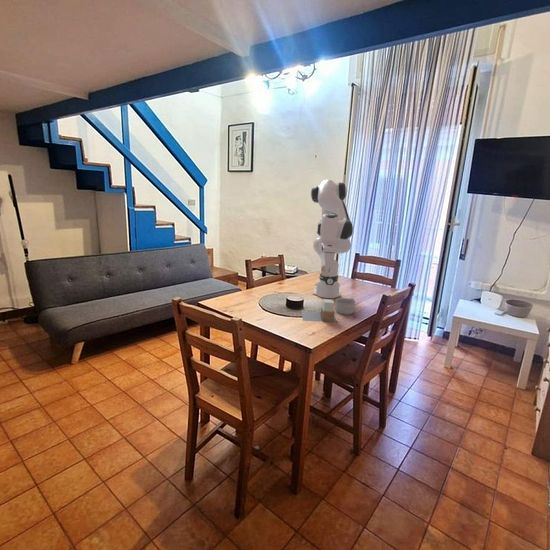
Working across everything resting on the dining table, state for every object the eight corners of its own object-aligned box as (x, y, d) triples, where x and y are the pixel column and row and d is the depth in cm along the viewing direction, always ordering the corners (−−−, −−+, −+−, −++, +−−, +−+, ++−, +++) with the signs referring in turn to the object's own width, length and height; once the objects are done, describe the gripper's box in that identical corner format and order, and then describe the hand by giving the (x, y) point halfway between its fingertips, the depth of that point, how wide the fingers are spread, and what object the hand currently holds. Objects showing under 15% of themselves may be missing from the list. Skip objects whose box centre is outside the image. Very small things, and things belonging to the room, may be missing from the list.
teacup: (344, 318, 179) (346, 304, 177) (330, 312, 187) (331, 298, 185) (361, 314, 187) (363, 301, 185) (347, 308, 195) (348, 295, 193)
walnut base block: (320, 316, 177) (321, 307, 175) (331, 317, 177) (332, 308, 176) (321, 320, 171) (322, 311, 170) (333, 321, 171) (334, 312, 170)
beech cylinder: (320, 274, 172) (321, 265, 171) (328, 274, 172) (329, 265, 171) (321, 276, 168) (322, 266, 167) (329, 276, 168) (330, 267, 167)
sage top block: (322, 308, 175) (323, 299, 174) (331, 308, 175) (332, 299, 174) (323, 311, 170) (324, 302, 169) (333, 312, 170) (334, 302, 169)
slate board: (300, 312, 184) (300, 310, 183) (332, 314, 184) (333, 312, 184) (302, 322, 170) (302, 320, 170) (337, 324, 170) (337, 322, 170)
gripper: (319, 242, 176) (317, 267, 180) (324, 248, 156) (321, 277, 160) (330, 243, 176) (328, 268, 180) (337, 249, 156) (334, 277, 160)
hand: (325, 272), depth 169 cm, fingers closed on beech cylinder, 4 cm apart
